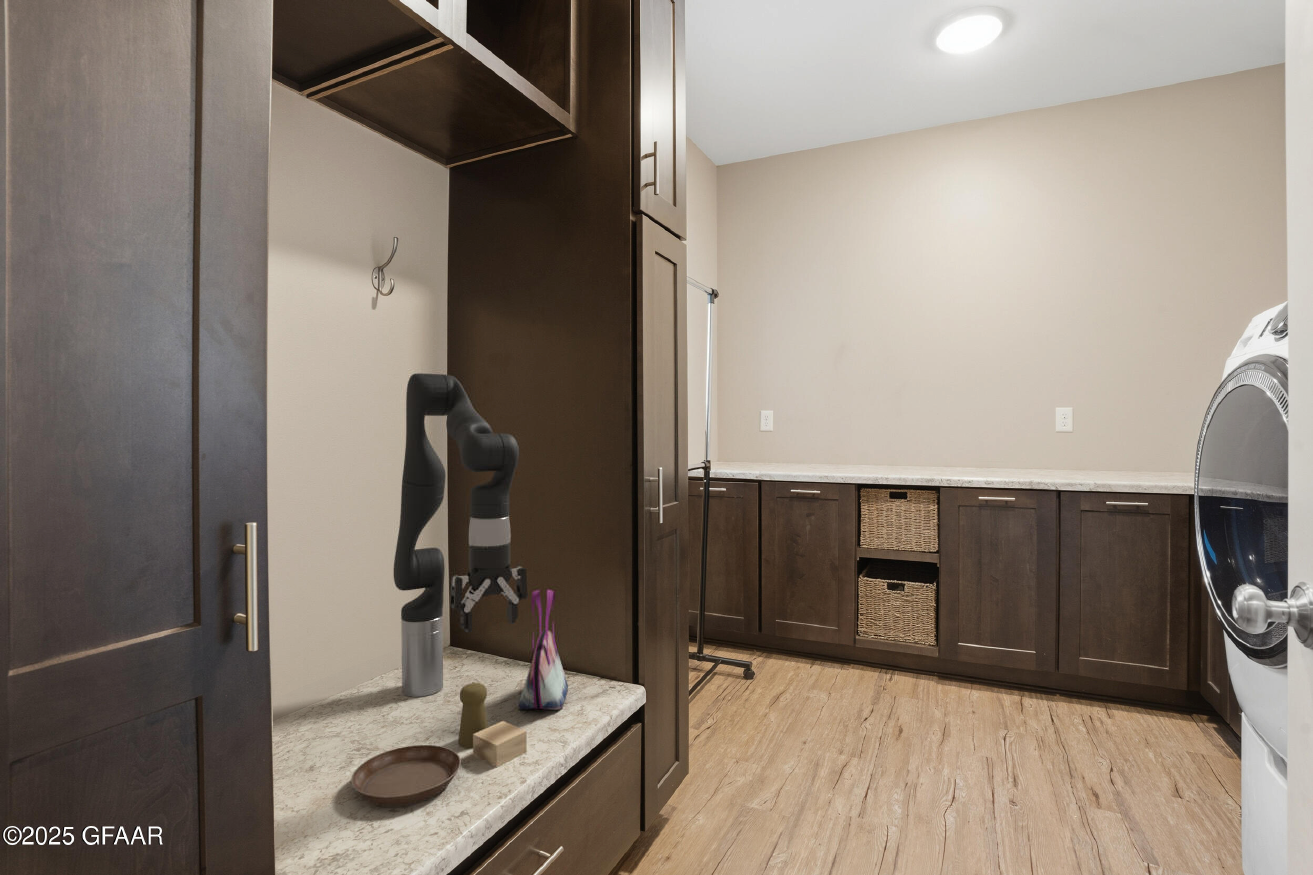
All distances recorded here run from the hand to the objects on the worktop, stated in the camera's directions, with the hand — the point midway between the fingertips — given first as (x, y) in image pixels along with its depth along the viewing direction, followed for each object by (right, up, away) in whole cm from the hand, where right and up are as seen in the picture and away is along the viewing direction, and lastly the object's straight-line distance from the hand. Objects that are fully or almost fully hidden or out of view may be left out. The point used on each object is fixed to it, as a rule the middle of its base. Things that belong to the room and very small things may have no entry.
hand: (489, 626), depth 121 cm
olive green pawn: (-5, -25, +7) cm, 26 cm away
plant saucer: (-12, -25, -9) cm, 29 cm away
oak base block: (+2, -25, +1) cm, 25 cm away
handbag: (+6, -24, +26) cm, 36 cm away
